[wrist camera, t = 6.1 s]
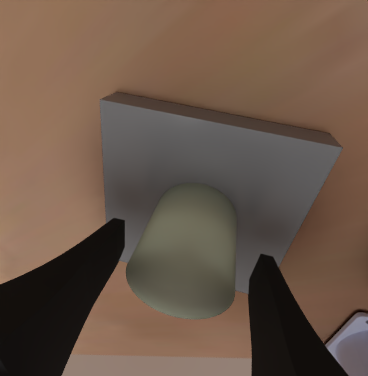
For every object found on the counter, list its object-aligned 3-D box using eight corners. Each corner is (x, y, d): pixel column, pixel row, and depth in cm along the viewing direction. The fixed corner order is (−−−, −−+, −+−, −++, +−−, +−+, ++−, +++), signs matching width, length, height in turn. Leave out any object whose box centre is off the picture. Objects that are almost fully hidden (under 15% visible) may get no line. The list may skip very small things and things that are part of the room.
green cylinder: (246, 193, 14) (249, 263, 9) (226, 254, 16) (221, 329, 12) (160, 175, 14) (125, 232, 10) (154, 237, 17) (125, 303, 13)
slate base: (329, 133, 13) (342, 147, 11) (260, 275, 19) (261, 297, 18) (116, 91, 14) (99, 99, 12) (118, 239, 21) (107, 257, 19)
